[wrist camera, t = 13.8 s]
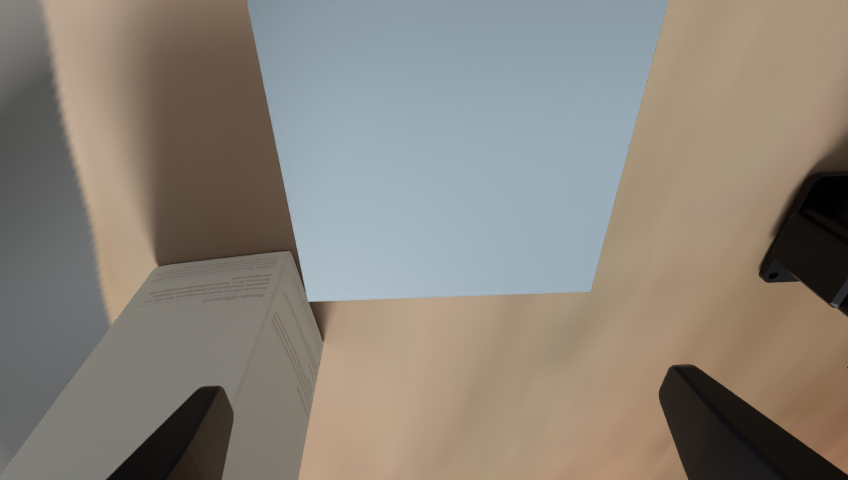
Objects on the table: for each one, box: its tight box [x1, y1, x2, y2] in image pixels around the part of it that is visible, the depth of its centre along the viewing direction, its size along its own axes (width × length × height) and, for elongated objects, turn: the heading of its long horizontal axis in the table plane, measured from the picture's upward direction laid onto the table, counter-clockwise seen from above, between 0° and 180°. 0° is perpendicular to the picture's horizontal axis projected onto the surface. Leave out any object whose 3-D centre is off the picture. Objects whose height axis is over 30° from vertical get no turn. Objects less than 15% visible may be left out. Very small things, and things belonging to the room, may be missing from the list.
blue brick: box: [247, 0, 668, 302], centre depth 8 cm, size 5×5×4 cm
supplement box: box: [0, 251, 323, 480], centre depth 19 cm, size 7×7×13 cm
